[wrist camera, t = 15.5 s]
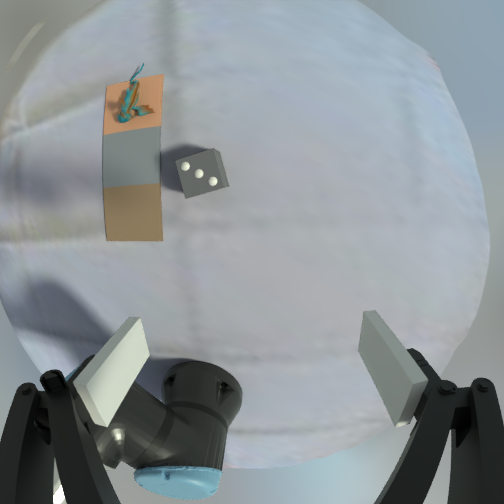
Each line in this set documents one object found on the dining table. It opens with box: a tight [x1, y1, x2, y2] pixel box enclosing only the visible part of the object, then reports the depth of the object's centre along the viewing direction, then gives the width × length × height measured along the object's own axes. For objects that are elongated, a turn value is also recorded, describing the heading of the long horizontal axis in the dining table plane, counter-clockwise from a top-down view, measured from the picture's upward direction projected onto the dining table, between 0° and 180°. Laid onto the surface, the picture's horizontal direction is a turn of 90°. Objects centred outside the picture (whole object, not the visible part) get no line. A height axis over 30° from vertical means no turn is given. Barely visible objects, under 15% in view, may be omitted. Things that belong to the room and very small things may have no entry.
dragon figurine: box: [117, 63, 155, 123], centre depth 32 cm, size 6×7×8 cm
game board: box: [103, 74, 164, 241], centre depth 36 cm, size 26×10×1 cm, turn 0°
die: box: [175, 148, 229, 199], centre depth 35 cm, size 5×5×5 cm
